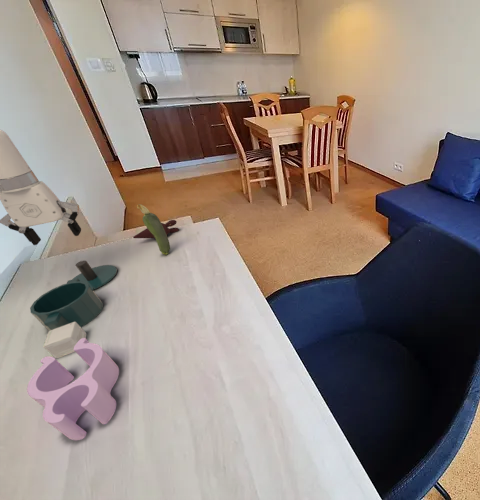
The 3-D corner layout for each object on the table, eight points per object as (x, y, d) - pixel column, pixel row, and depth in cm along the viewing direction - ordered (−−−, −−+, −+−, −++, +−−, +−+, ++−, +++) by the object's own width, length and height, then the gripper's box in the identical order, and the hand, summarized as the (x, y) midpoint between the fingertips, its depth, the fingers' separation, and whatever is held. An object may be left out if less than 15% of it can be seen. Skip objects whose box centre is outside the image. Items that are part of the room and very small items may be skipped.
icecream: (132, 236, 105) (178, 223, 113) (127, 224, 109) (172, 212, 117) (138, 250, 110) (182, 237, 118) (134, 238, 114) (177, 226, 122)
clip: (132, 407, 60) (113, 388, 56) (54, 458, 54) (27, 440, 50) (113, 349, 73) (96, 330, 69) (48, 384, 66) (26, 366, 62)
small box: (60, 343, 76) (48, 330, 73) (87, 333, 78) (76, 320, 75) (55, 360, 72) (41, 347, 69) (83, 349, 74) (71, 336, 71)
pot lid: (62, 300, 90) (46, 282, 86) (76, 275, 100) (62, 258, 96) (113, 286, 93) (100, 268, 89) (121, 263, 104) (110, 246, 100)
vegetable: (173, 249, 108) (147, 198, 97) (177, 253, 106) (151, 202, 94) (160, 254, 106) (132, 203, 95) (164, 259, 103) (136, 207, 92)
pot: (37, 349, 75) (15, 329, 71) (62, 303, 89) (45, 284, 84) (94, 331, 78) (77, 311, 74) (110, 289, 92) (96, 270, 88)
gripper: (-36, 194, 71) (14, 253, 81) (52, 179, 76) (90, 236, 86) (-19, 183, 77) (26, 240, 87) (62, 170, 82) (96, 225, 92)
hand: (58, 238), depth 86 cm, fingers open, 9 cm apart
